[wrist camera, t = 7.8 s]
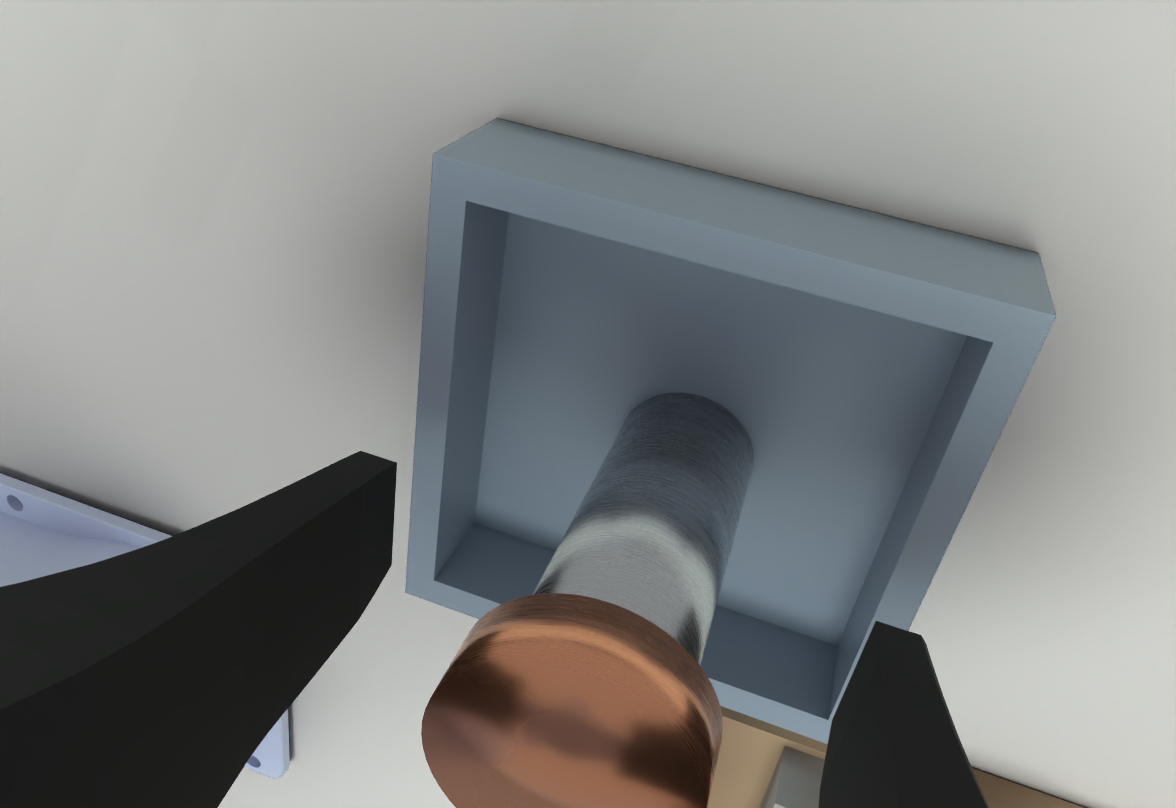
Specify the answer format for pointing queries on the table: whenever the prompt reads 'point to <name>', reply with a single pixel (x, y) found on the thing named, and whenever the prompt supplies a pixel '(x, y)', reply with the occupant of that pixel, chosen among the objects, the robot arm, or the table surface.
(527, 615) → the lock pin
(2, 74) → the table surface
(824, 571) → the tray
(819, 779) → the pulley board
